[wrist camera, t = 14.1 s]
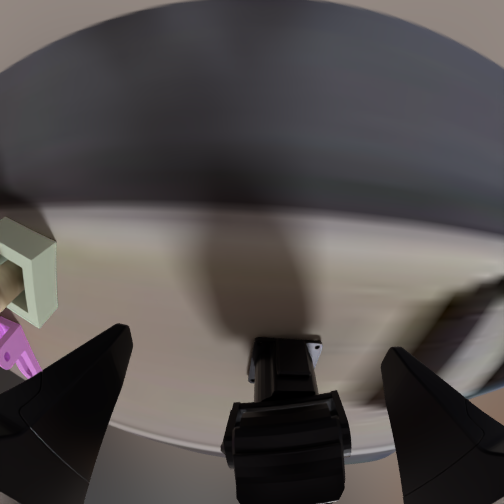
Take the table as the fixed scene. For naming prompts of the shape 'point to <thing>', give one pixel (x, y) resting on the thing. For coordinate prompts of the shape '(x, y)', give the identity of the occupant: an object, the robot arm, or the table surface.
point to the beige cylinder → (10, 283)
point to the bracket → (16, 349)
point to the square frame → (31, 270)
